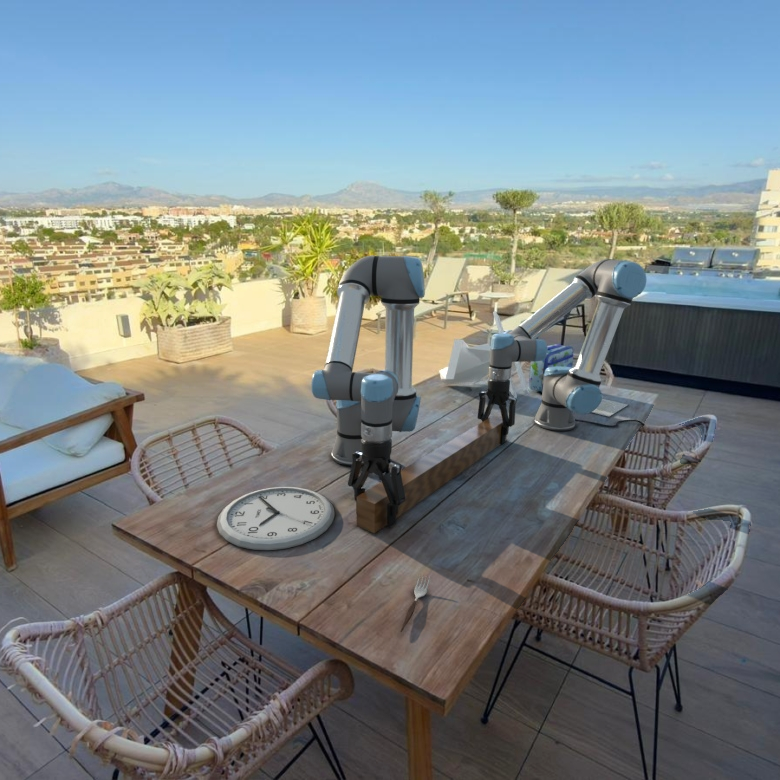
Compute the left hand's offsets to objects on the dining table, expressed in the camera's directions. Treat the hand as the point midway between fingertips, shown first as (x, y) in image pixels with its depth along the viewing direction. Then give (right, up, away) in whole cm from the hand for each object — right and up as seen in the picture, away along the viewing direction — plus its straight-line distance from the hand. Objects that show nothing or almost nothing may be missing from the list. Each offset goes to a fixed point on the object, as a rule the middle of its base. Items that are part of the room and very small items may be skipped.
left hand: (375, 518), depth 134 cm
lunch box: (+80, +34, +116) cm, 145 cm away
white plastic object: (+45, +32, +109) cm, 122 cm away
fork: (+8, -11, -29) cm, 32 cm away
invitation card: (+95, +26, +92) cm, 135 cm away
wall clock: (-26, 0, +2) cm, 26 cm away
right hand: (+41, +15, +53) cm, 68 cm away
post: (+20, +7, +27) cm, 34 cm away
